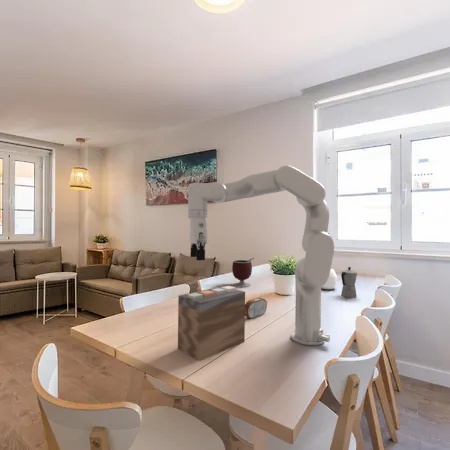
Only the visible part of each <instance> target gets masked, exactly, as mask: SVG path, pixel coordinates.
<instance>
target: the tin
mask: <svg viewBox="0 0 450 450" xmlns="http://www.w3.org/2000/svg"><path fill="white" fill-rule="evenodd" d="M267 307H268V301H267V300H266V299H265V298H262V297H256V298H253V299H249V300H247V301H246V302H245V318H248V319H254V318H257V317H261V316H263V315H264V314H265V313H266V311H267Z"/></svg>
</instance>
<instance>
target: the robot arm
mask: <svg viewBox="0 0 450 450" xmlns="http://www.w3.org/2000/svg"><path fill="white" fill-rule="evenodd" d="M187 188H188V189H187V190H188V191H187V192H188V196H187V197H188V198H187V199H188V200H187V202H188V203H187V204H188V205H187V218H188V219H189V220H190V221H189V222H190V223H189V242H190V258H196V261H205V259H206V245H207V244H208V224H207V219H208V202H213V203H216V204H222V203H227V202H232V201H236V200H237V201H238V200H242V199H243V200H244V199H248V198H254V197H259V196H264V195H268V194H274V193H275V194H276V193H279V192H285V191H287V192H289V193H290V194H292V195H293V196H295V198H296V201H297V202H298V204H300V205H301V206H302V207H303V209H304V211H305V216H306V217H305V225H304V231H303V235H302V239H301V247H302V250H303V251H304V252H305V256H304V257H303V258H301V259H300V260H298V261H297V263H296V264H295V267H294V278H295V280H294V282H295V317H294V320H295V321H294V325H295V328H294V329H295V330H294V331H292V332H291V333H290V338H291V340H292V341H293V342H295V343H297V344H301V345H305V346H320V345H322V344H324V343H329V342H330V341H331V338H330V337H331V336H330V334H327V333H324V329H323V328H321V327H322V325H321V324H322V323H321V322H322V321H321V320H322V316H321V315H322V288H321V286H323V285H324V284H325V283H326V282H327V280H328V278H329V275H330V270H331V269H332V265H333V264H332V263H333V259H334V252H335V244H334V240H333V237H332V236H331V235H330V234H329V233H328V229H329V224H330V222H329V221H330V210H329V206H328V204H327V202H326V200H325V198H326V190H325V189H326V188H325V187H324V186H323V184H321V183H320V182H318V181H317V180H315V179H314V178H313V177H311V176H309V175H307V174H306V173H304V172H303V171H301V170H299V169H297V168H296V167H294V166H292V165H282V166H280V167H278V169H274V170H273V169H272V170H270V171H265V172H260V173H259V172H258V173H254V174H250V175H247V176H245V177H243V178H241V179H240V180H236V181H232V182H229V183H228V182H227V183H222V182H219V181H214V182H208V183H206V182H205V183H204V182H203V183H202V182H193V183H189V184H188V187H187Z"/></svg>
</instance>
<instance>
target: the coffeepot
mask: <svg viewBox="0 0 450 450" xmlns="http://www.w3.org/2000/svg"><path fill="white" fill-rule="evenodd" d="M340 274H341V275H340V276H341V277H340V278H341V282H342V289H341V293H340V294H341V297H344V298H348V299H350V298H351V299H352V298H353V299H354V298H357V289H356V282H357V281H356V280H357V275H358V271H355V270H351V266H348V267H347V269H346V270H345V269H344V270H341V273H340Z"/></svg>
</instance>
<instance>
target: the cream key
mask: <svg viewBox="0 0 450 450" xmlns="http://www.w3.org/2000/svg"><path fill="white" fill-rule="evenodd" d="M221 287H222V286H221ZM222 289H225V290H226V291H227V292H231V291H235V290H237V287H235V286H233V285H232V286H231V285H226V286H224V287H222Z"/></svg>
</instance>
